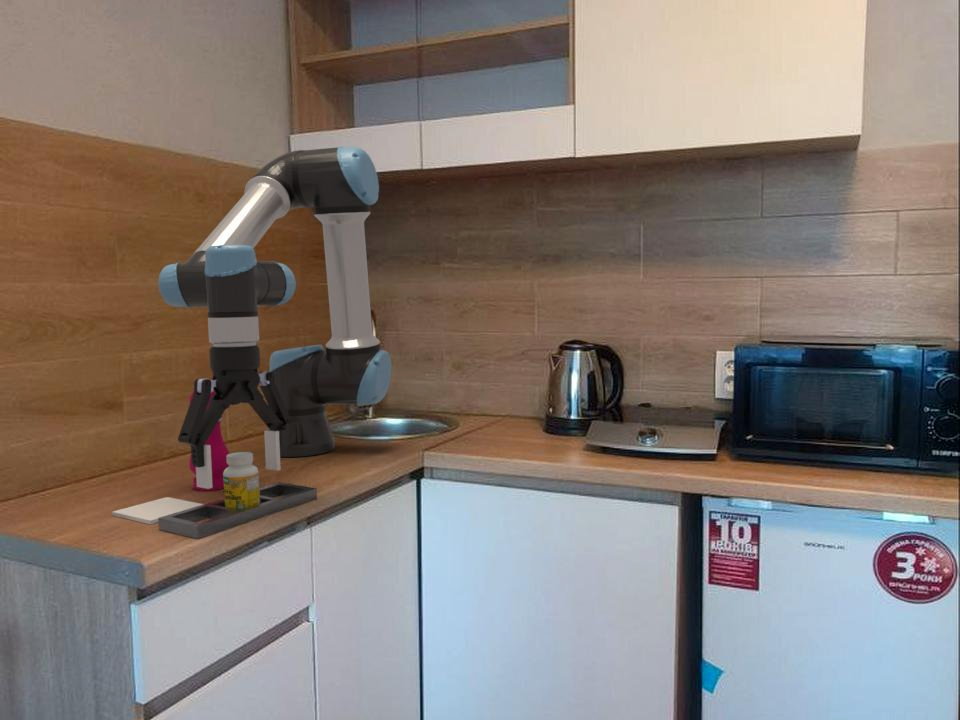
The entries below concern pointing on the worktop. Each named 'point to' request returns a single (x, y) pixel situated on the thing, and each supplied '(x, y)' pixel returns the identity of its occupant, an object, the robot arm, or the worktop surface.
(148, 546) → the worktop surface
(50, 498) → the worktop surface
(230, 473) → the supplement bottle
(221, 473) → the pepper mill
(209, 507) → the rack frame
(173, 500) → the white mat
